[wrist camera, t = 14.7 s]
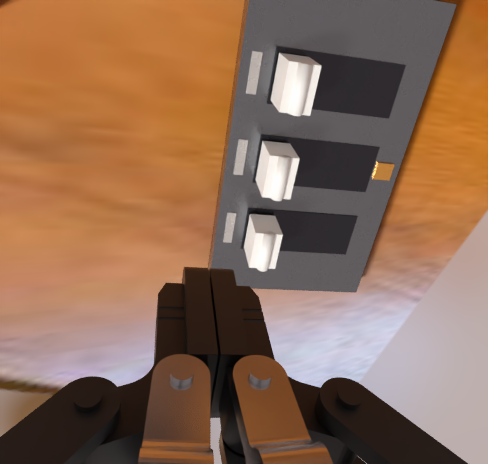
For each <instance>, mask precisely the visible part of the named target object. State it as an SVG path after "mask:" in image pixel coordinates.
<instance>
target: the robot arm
mask: <svg viewBox="0 0 488 464" xmlns="http://www.w3.org/2000/svg"><path fill="white" fill-rule="evenodd" d="M215 417H216V418H219V417H220V422H221V433H220V438H219V449H220V455H221V461H222V464H366V463H367V464H468V463H466V462H465V461H464V460H462V459H461V458H460V457H458V456H457V455H456V454H454V453H453V452H452V451H450V450H449V449H447V448H446V447H445V446H443V445H442V444H441V443H439V442H438V441H437V440H435V439H434V438H433V437H431V436H430V435H428V434H427V433H426V432H424V431H423V430H422V429H420V428H419V427H418V426H416V425H415V424H413V423H412V422H411V421H410V420H408V419H407V418H406V417H404V416H403V415H401V414H400V413H399V412H397V411H396V410H395V409H393V408H392V407H391V406H389V405H388V404H387V403H385V402H384V401H382V400H381V399H380V398H378V397H377V396H376V395H374V394H373V393H371V392H370V391H369V390H368V389H366V388H365V387H364V386H362V385H361V384H359V383H357V382H355V381H353V380H350V379H347V378H332V379H329V380H327V381H326V382H325V383H324V384H323V385H322V387H321V388H319V387H315V386H312V385H308V384H304V383H301V382H298V381H296V380H294V379H292V378H290V377H288V376H287V374H286V372H285V370H284V368H283V367H282V366H281V365H280V364H279V363H278V362H276V361H275V359H274V355H273V351H272V348H271V344H270V340H269V336H268V332H267V328H266V324H265V322H264V316H263V312H262V308H261V305H260V301H259V297H258V296H257V295H256V294H255V292H254V291H253V290H252V289H251V288H250V286H237V285H236V279H235V274H234V270H233V269H217V268H209V270H208V268H194V267H184V270H183V278H182V284H180V283H166V284H165V285H164V286H163V288H162V289H161V291H160V292H159V294H158V305H157V318H156V332H155V354H154V366H153V367H152V369H151V370H150V371H149V373H148V374H147V375H145V376H144V377H143V378H141V379H140V380H137V381H135V382H133V383H130V384H126V385H123V386H119V387H117V386H116V385H115V384H114V383H112V382H111V381H109V380H107V379H105V378H101V377H84V378H80V379H77V380H75V381H73V382H71V383H69V384H68V385H66V386H65V387H63V388H62V389H61V390H60V391H58V392H57V393H56V394H55V395H53V396H52V397H51V398H49V399H48V400H47V401H46V402H45V403H43V404H42V405H41V406H39V407H38V408H37V409H35V410H34V411H33V412H32V413H30V414H29V415H28V416H27V417H25V418H24V419H23V420H22V421H20V422H19V423H18V424H17V425H15V426H14V427H13V428H11V429H10V430H9V431H8V432H6V433H5V434H4V435H2V436H1V437H0V464H214V458H213V450H212V449H211V448H210V418H215ZM358 456H359V457H360V458H361V459H362V460H363V461H362V460H361V459H360V458H359V457H358ZM364 461H365V462H366V463H365V462H364Z"/></svg>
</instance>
